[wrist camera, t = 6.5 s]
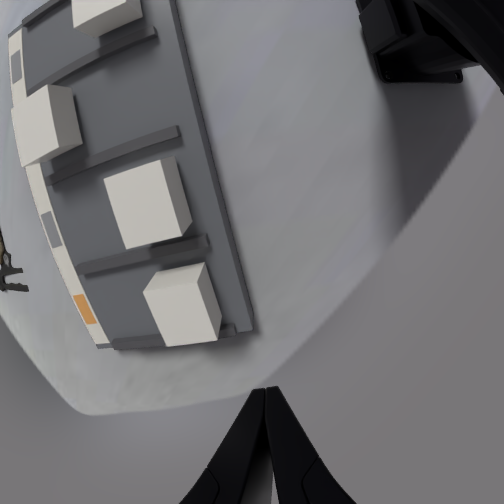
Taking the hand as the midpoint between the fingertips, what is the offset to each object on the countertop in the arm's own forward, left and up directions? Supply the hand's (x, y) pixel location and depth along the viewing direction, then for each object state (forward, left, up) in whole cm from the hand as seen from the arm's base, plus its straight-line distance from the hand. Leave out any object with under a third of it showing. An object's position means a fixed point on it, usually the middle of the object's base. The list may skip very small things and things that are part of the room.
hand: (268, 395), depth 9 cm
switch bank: (+8, -9, -11) cm, 16 cm away
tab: (+10, -12, -9) cm, 18 cm away
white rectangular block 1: (+5, -18, -9) cm, 20 cm away
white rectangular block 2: (+5, -6, -9) cm, 11 cm away
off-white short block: (+5, 0, -9) cm, 10 cm away
